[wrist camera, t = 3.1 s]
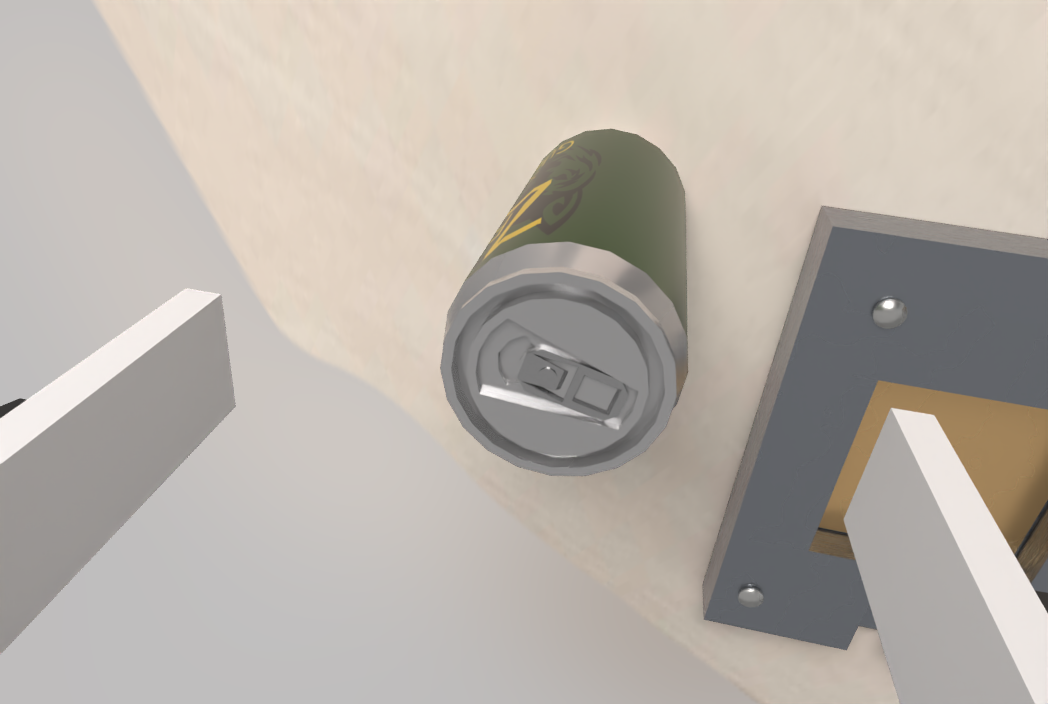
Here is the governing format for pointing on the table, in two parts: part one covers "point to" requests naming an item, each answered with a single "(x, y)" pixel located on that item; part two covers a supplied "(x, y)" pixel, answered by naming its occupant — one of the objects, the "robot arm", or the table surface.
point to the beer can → (576, 312)
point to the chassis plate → (885, 410)
